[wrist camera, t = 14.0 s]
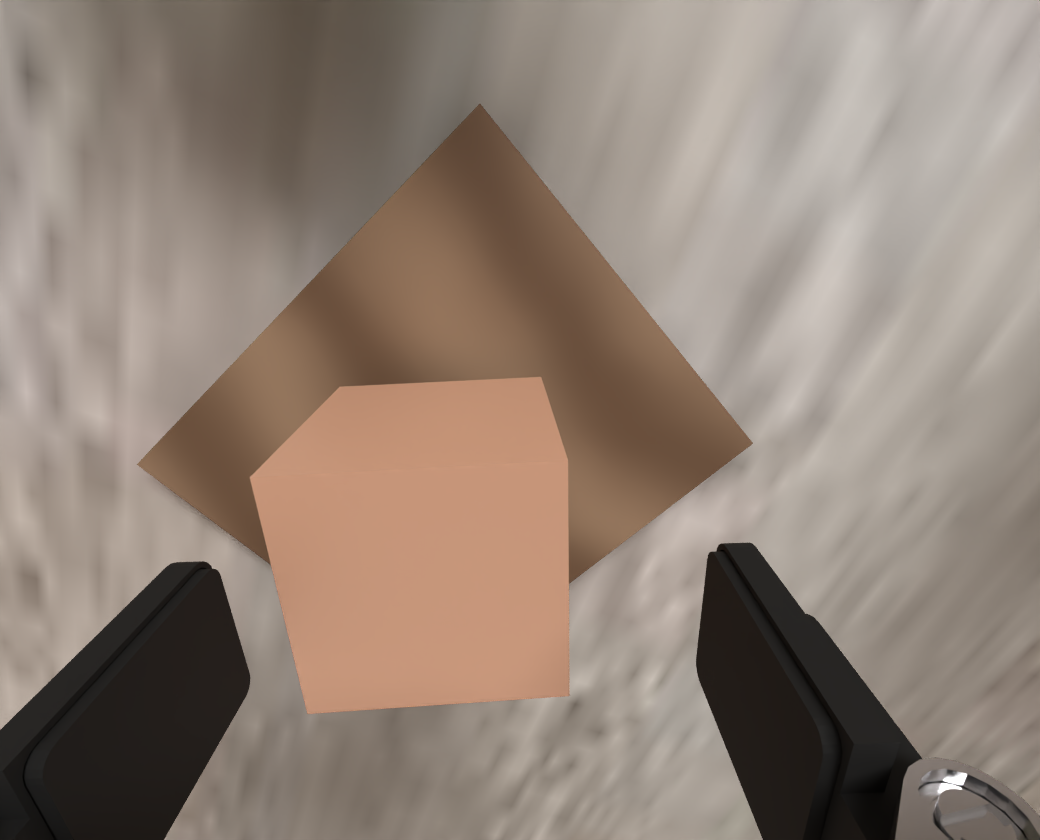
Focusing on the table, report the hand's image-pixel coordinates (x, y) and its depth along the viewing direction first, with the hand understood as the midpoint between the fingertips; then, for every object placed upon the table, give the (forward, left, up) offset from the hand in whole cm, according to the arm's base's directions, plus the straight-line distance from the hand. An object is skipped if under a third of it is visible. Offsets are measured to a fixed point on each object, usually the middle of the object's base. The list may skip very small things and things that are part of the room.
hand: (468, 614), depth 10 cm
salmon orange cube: (+1, 0, -7) cm, 7 cm away
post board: (+1, 0, -10) cm, 10 cm away
